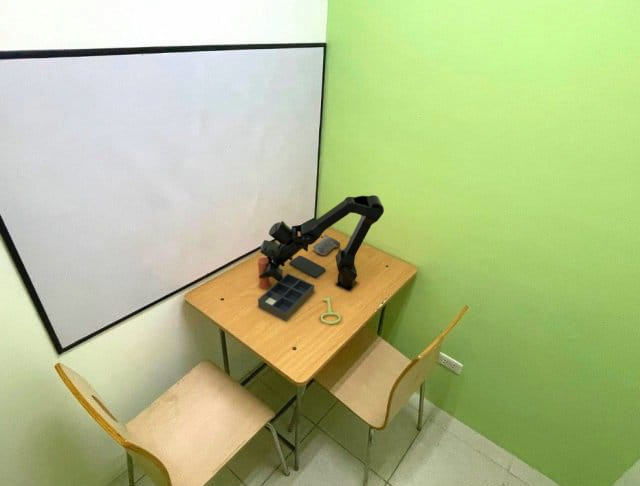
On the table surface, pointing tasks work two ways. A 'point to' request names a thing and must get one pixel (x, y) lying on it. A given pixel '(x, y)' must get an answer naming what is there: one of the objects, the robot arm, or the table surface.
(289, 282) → the grid
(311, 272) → the phone
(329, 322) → the key
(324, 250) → the stone
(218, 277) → the table surface
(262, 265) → the reddish brown cylinder
